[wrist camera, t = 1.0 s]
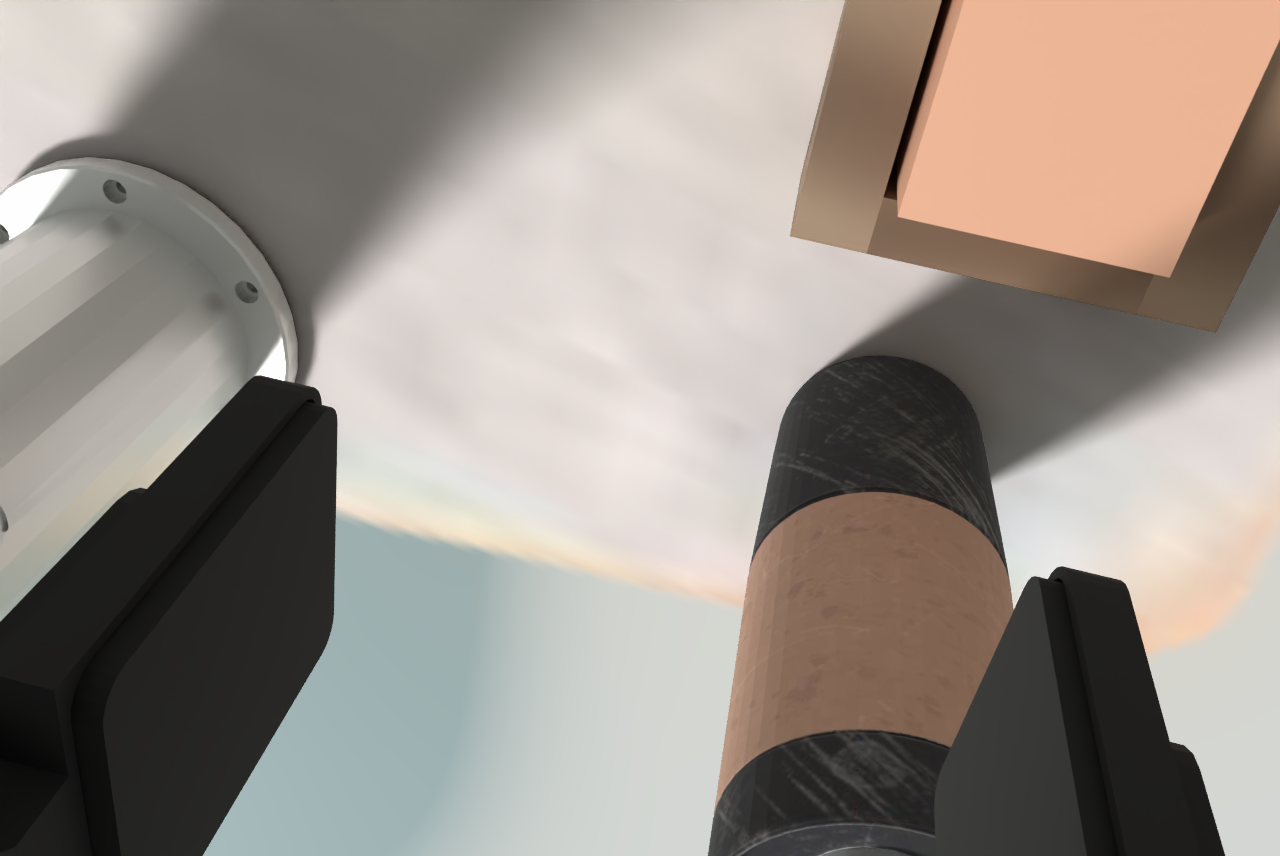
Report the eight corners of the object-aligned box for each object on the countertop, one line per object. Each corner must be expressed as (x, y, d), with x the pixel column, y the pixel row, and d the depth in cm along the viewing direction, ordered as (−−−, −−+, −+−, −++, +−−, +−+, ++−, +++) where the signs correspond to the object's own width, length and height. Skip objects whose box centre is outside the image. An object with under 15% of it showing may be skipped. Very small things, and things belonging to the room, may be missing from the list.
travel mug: (732, 403, 42) (628, 869, 25) (927, 310, 39) (958, 775, 22) (835, 555, 44) (804, 1066, 28) (1026, 480, 41) (1119, 1008, 25)
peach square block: (1134, 205, 33) (1169, 277, 29) (896, 153, 34) (897, 216, 30) (1242, -47, 30) (1300, -6, 25) (972, -103, 30) (986, -71, 26)
